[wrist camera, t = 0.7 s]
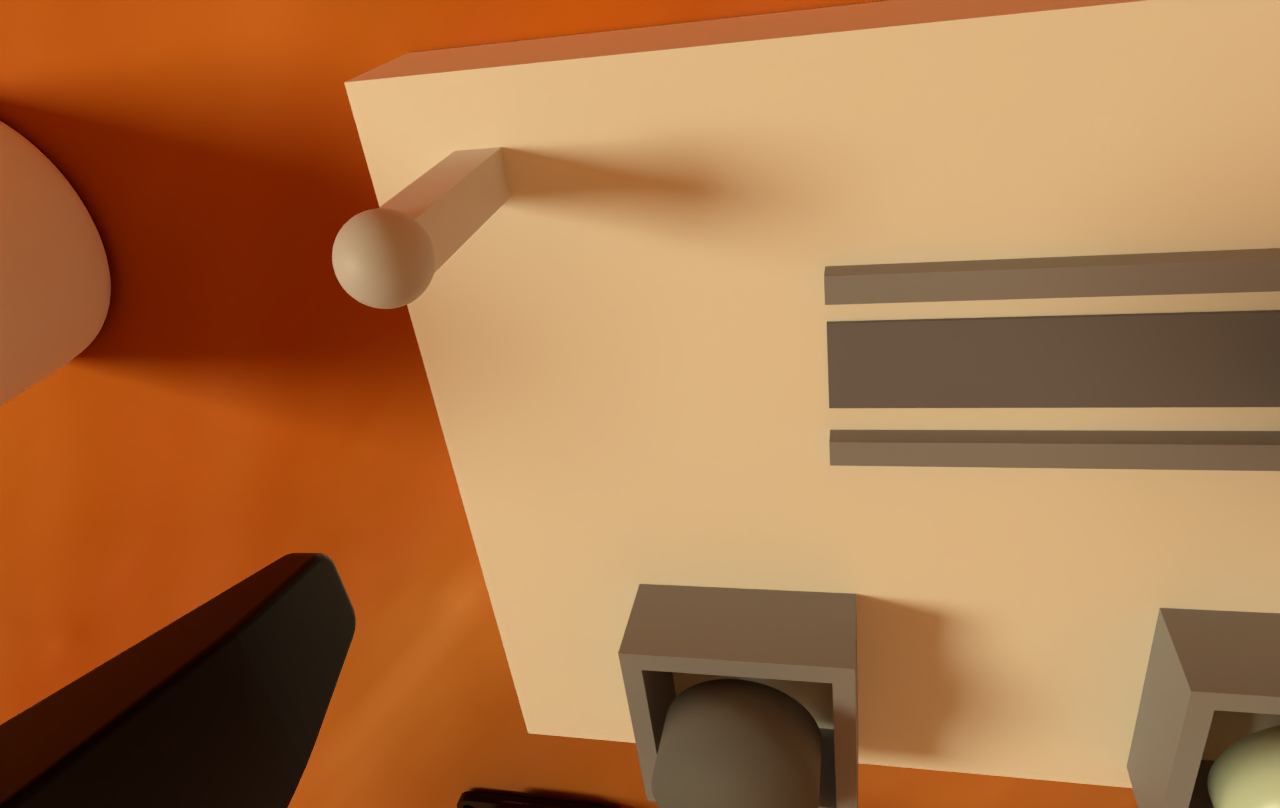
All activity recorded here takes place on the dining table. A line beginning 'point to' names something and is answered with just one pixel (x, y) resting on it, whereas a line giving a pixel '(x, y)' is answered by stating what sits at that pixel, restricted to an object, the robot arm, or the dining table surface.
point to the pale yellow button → (1248, 772)
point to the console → (862, 371)
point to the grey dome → (737, 749)
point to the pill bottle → (44, 268)
